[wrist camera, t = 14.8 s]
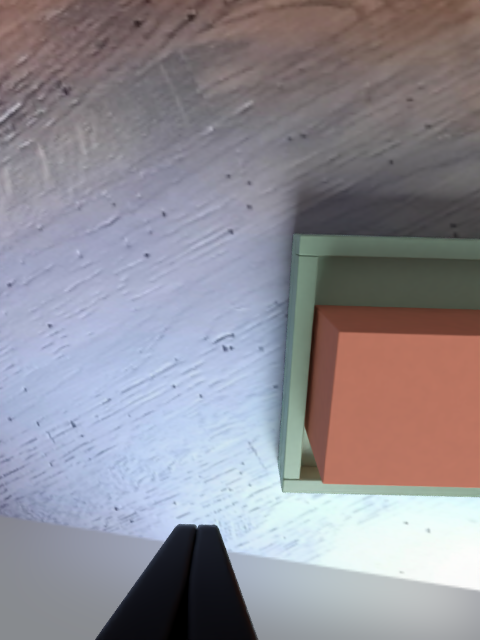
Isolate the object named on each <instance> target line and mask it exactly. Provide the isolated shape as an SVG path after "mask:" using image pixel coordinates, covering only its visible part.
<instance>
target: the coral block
mask: <svg viewBox="0 0 480 640" xmlns="http://www.w3.org/2000/svg"><path fill="white" fill-rule="evenodd" d="M304 427H305V430H306V433H307V436H308V439H309V442H310V445H311V448H312V452H313V455H314V458H315V461H316V464H317V467H318V470H319V474H320V477H321V480H322V483H323V484H346V485H386V486H425V487H464V488H480V310H473V309H439V308H405V307H371V306H337V305H315V307H314V318H313V330H312V341H311V353H310V364H309V376H308V387H307V399H306V411H305V422H304Z"/></svg>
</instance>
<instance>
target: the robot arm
mask: <svg viewBox="0 0 480 640" xmlns="http://www.w3.org/2000/svg"><path fill="white" fill-rule="evenodd" d="M95 640H258V638H257V635H256V632H255V630H254V627H253V624H252V621H251V618H250V616H249V613H248V610H247V607H246V604H245V601H244V599H243V596H242V593H241V590H240V587H239V584H238V582H237V579H236V576H235V573H234V570H233V568H232V565H231V562H230V560H229V557H228V554H227V551H226V548H225V545H224V542H223V539H222V537H221V534H220V531H219V528H218V527H217V526H216V525H199V526H198V528H197V526H196V525H194V524H179V525H177V526H176V527H175V528H174V530H173V531H172V533H171V534H170V535H169V537H168V538H167V540H166V541H165V542H164V544H163V545H162V547H161V548H160V550H159V551H158V552H157V554H156V555H155V556H154V558H153V559H152V561H151V562H150V563H149V565H148V566H147V568H146V569H145V570H144V572H143V573H142V575H141V576H140V577H139V579H138V580H137V582H136V583H135V585H134V586H133V587H132V589H131V590H130V591H129V593H128V594H127V596H126V597H125V598H124V600H123V601H122V603H121V604H120V605H119V607H118V608H117V610H116V611H115V613H114V614H113V615H112V617H111V618H110V619H109V621H108V622H107V624H106V625H105V626H104V628H103V629H102V631H101V632H100V634H99V635H98V636H97V638H96V639H95Z"/></svg>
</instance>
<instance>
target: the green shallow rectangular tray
mask: <svg viewBox="0 0 480 640" xmlns="http://www.w3.org/2000/svg"><path fill="white" fill-rule="evenodd" d="M315 305H337V306H371V307H405V308H439V309H473V310H480V239H466V238H432V237H397V236H362V235H328V234H294V235H293V243H292V258H291V273H290V289H289V304H288V320H287V335H286V350H285V366H284V381H283V397H282V412H281V427H280V443H279V458H278V468H279V475H280V481H281V488H282V492H284V493H326V494H368V495H410V496H453V497H480V488H464V487H425V486H386V485H346V484H323V483H322V480H321V477H320V474H319V470H318V467H317V464H316V461H315V458H314V455H313V452H312V448H311V445H310V442H309V439H308V436H307V433H306V430H305V427H304V422H305V411H306V399H307V387H308V376H309V364H310V353H311V341H312V330H313V318H314V307H315Z"/></svg>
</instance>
